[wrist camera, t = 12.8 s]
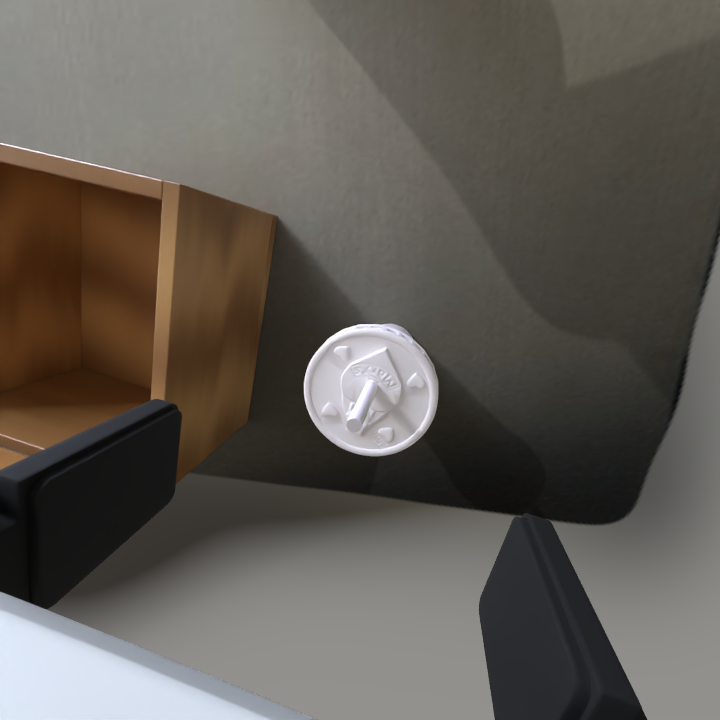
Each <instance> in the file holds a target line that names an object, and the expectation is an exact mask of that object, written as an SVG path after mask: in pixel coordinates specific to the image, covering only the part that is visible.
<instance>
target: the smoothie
mask: <svg viewBox="0 0 720 720" xmlns="http://www.w3.org/2000/svg"><path fill="white" fill-rule="evenodd" d="M304 398H305V403H306V407H307V410H308V412H309V415H310V417H311V419H312V420H313V422H314V424H315V425H316V427H317V428H318V429H319V430H320V432H321V433H322V434H323V435H324V436H325V437H326V438H327V439H329V440H330V441H331V442H333V443H334V444H335V445H337V446H339V447H341V448H342V449H345V450H347V451H349V452H352V453H355V454H359V455H365V456H385V455H390V454H394V453H397V452H399V451H402V450H404V449H406V448H408V447H409V446H411V445H413V444H414V443H415V442H416V441H418V440H419V439H420V438H421V437H422V436H423V435H424V433H425V432H426V431H427V429H428V428H429V426H430V425H431V423H432V421H433V418H434V416H435V412H436V409H437V403H438V379H437V375H436V372H435V368H434V365H433V363H432V361H431V360H430V358H429V357H428V355H427V353H426V352H425V350H424V349H423V348H422V347H421V346H420V345H419V344H418V343H417V342H416V341H415V340H414V339H413V338H412V336H411V335H410V333H409V332H408V331H407V330H406V329H404V328H403V327H401V326H399V325H395V324H383V325H379V324H359V325H356V326H352V327H349V328H346V329H343V330H341V331H339V332H338V333H336V334H335V335H333V336H331V337H330V338H328V339H327V341H326V342H325V343H324V344H323V345H322V346H321V347H320V348H319V349H318V350H317V352H316V353H315V354H314V356H313V357H312V359H311V361H310V363H309V365H308V368H307V370H306V374H305V379H304Z"/></svg>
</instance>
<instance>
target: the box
mask: <svg viewBox="0 0 720 720" xmlns="http://www.w3.org/2000/svg"><path fill="white" fill-rule="evenodd" d="M277 219H278V217H277V216H275V215H272V214H269V213H266V212H263V211H260V210H257V209H254V208H251V207H248V206H245V205H242V204H239V203H236V202H233V201H230V200H227V199H224V198H221V197H218V196H215V195H212V194H209V193H206V192H203V191H200V190H197V189H194V188H191V187H188V186H185V185H182V184H179V183H174V182H170V181H166V180H161V179H157V178H152V177H148V176H144V175H139V174H135V173H130V172H126V171H122V170H117V169H113V168H109V167H104V166H100V165H96V164H91V163H87V162H82V161H78V160H74V159H69V158H65V157H61V156H56V155H52V154H48V153H43V152H39V151H34V150H30V149H26V148H21V147H17V146H13V145H8V144H4V143H0V446H2V447H5V448H8V449H11V450H14V451H17V452H20V453H23V454H26V455H28V456H31V455H33V454H36V453H38V452H40V451H42V450H44V449H46V448H49V447H51V446H53V445H55V444H57V443H59V442H62V441H64V440H66V439H68V438H70V437H72V436H75V435H77V434H79V433H81V432H83V431H85V430H88V429H90V428H92V427H94V426H96V425H98V424H101V423H103V422H105V421H107V420H109V419H111V418H114V417H116V416H118V415H120V414H122V413H124V412H127V411H129V410H131V409H133V408H135V407H137V406H140V405H142V404H144V403H146V402H148V401H150V400H153V399H160V400H164V401H167V402H170V403H173V404H176V405H177V406H178V409H179V411H180V412H181V413H182V423H181V434H180V444H179V454H178V464H177V474H176V483H177V482H179V481H180V480H181V479H182V478H183V477H184V476H185V475H187V474H188V473H189V472H190V471H191V470H192V469H194V468H195V467H196V466H197V465H198V464H199V463H201V462H202V461H203V460H204V459H205V458H206V457H207V456H209V455H210V454H211V453H212V452H213V451H214V450H216V449H217V448H218V447H219V446H220V445H221V444H222V443H224V442H225V441H226V440H227V439H228V438H229V437H231V436H232V435H233V434H234V433H235V432H236V431H237V430H239V429H240V428H241V427H242V426H243V425H244V424H245V423H247V422H248V415H249V408H250V401H251V395H252V388H253V381H254V374H255V368H256V361H257V354H258V347H259V341H260V334H261V327H262V321H263V314H264V307H265V300H266V294H267V287H268V280H269V273H270V267H271V260H272V253H273V246H274V240H275V233H276V226H277Z"/></svg>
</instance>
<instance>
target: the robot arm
mask: <svg viewBox="0 0 720 720" xmlns="http://www.w3.org/2000/svg"><path fill="white" fill-rule="evenodd" d="M181 423H182V413H181V412H180V411H179V409H178V406H177V405H176V404H173V403H170V402H167V401H164V400H160V399H153V400H150V401H148V402H146V403H144V404H142V405H140V406H137V407H135V408H133V409H131V410H129V411H127V412H124V413H122V414H120V415H118V416H116V417H114V418H111V419H109V420H107V421H105V422H103V423H101V424H98V425H96V426H94V427H92V428H90V429H88V430H85V431H83V432H81V433H79V434H77V435H75V436H72V437H70V438H68V439H66V440H64V441H62V442H59V443H57V444H55V445H53V446H51V447H49V448H46V449H44V450H42V451H40V452H38V453H36V454H33V455H31V456H29V457H27V458H25V459H23V460H20V461H18V462H16V463H14V464H12V465H10V466H7V467H5V468H3V469H1V470H0V720H317V719H315V718H313V717H310V716H308V715H305V714H303V713H301V712H298V711H296V710H293V709H290V708H288V707H286V706H283V705H281V704H279V703H276V702H274V701H271V700H269V699H266V698H264V697H261V696H259V695H256V694H254V693H252V692H249V691H247V690H244V689H242V688H239V687H237V686H234V685H232V684H229V683H227V682H225V681H222V680H220V679H217V678H215V677H212V676H210V675H208V674H205V673H203V672H200V671H198V670H195V669H193V668H190V667H188V666H185V665H183V664H181V663H178V662H175V661H173V660H171V659H168V658H166V657H163V656H161V655H158V654H156V653H153V652H151V651H148V650H146V649H143V648H141V647H139V646H136V645H134V644H131V643H129V642H126V641H123V640H121V639H119V638H116V637H114V636H111V635H109V634H106V633H104V632H101V631H98V630H96V629H94V628H91V627H89V626H86V625H84V624H81V623H79V622H76V621H74V620H71V619H69V618H66V617H64V616H61V615H58V614H56V613H54V612H51V611H48V610H46V609H48V608H50V607H51V606H53V605H54V604H56V603H57V602H58V601H59V600H60V599H61V598H62V597H64V595H66V594H67V593H68V592H69V591H70V590H71V589H72V588H74V587H75V586H76V585H77V584H78V583H79V582H80V581H82V580H83V579H84V578H85V577H86V576H87V575H88V574H89V573H90V572H92V571H93V570H94V569H95V568H96V567H97V566H98V565H99V564H101V563H102V562H103V561H104V560H105V559H106V558H107V557H109V556H110V555H111V554H112V553H113V552H114V551H115V550H116V549H118V548H119V547H120V546H121V545H122V544H123V543H124V542H125V541H127V540H128V539H129V538H130V537H131V536H132V535H133V534H134V533H136V532H137V531H138V530H139V529H140V528H141V527H142V526H143V525H144V524H146V523H147V522H148V521H149V520H150V519H151V518H152V517H154V516H155V515H156V514H157V513H158V512H159V511H160V510H161V509H163V508H164V507H165V506H166V505H167V504H168V503H169V502H170V500H171V499H172V497H173V495H174V492H175V485H176V474H177V464H178V454H179V444H180V434H181ZM479 615H480V622H481V629H482V635H483V642H484V649H485V655H486V662H487V669H488V676H489V683H490V689H491V696H492V702H493V709H494V716H495V720H647V718H646V716H645V714H644V712H643V710H642V707H641V705H640V703H639V700H638V698H637V696H636V695H635V692H634V690H633V688H632V686H631V684H630V682H629V680H628V678H627V676H626V674H625V672H624V670H623V668H622V666H621V664H620V662H619V660H618V658H617V656H616V654H615V652H614V650H613V648H612V646H611V644H610V641H609V639H608V637H607V636H606V633H605V631H604V629H603V627H602V625H601V623H600V621H599V619H598V617H597V615H596V613H595V611H594V609H593V607H592V605H591V603H590V601H589V598H588V597H587V594H586V592H585V590H584V588H583V586H582V584H581V582H580V580H579V578H578V576H577V574H576V572H575V570H574V568H573V566H572V564H571V562H570V560H569V558H568V556H567V554H566V552H565V550H564V547H563V545H562V543H561V541H560V540H559V537H558V535H557V533H556V531H555V529H554V527H553V525H552V523H551V522H550V521H549V520H546V519H543V518H539V517H536V516H533V515H530V514H527V513H525V514H523V515H522V516H521V518H520V517H515V518H514V519H513V521H512V523H511V526H510V528H509V531H508V533H507V535H506V538H505V540H504V542H503V545H502V547H501V549H500V552H499V554H498V556H497V559H496V561H495V564H494V566H493V568H492V571H491V573H490V576H489V578H488V580H487V583H486V585H485V587H484V590H483V592H482V595H481V597H480V602H479Z"/></svg>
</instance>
